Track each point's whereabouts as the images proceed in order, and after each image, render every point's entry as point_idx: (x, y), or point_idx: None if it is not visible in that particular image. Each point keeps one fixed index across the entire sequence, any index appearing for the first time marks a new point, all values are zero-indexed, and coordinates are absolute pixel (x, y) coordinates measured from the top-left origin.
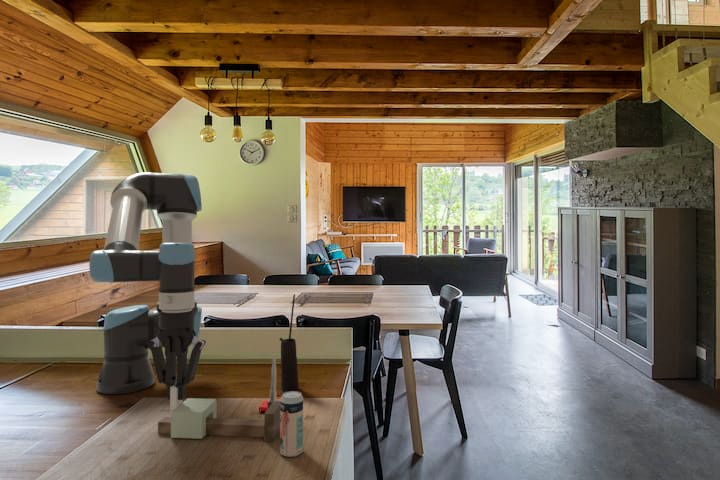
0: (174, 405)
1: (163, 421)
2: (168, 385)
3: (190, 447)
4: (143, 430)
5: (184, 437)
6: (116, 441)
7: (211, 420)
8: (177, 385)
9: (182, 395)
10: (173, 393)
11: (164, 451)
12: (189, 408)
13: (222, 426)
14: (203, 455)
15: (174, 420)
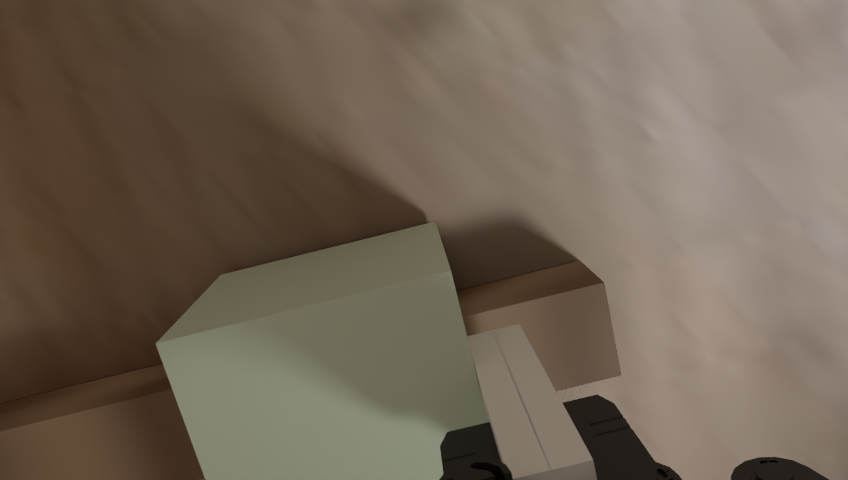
0: (497, 370)
1: (571, 304)
2: (630, 470)
3: (222, 164)
4: (704, 263)
5: (340, 246)
6: (766, 74)
7: None
8: (474, 475)
9: (448, 460)
10: (531, 426)
11: (346, 61)
12: (339, 383)
13: (116, 397)
14: (56, 99)
15: (413, 257)
